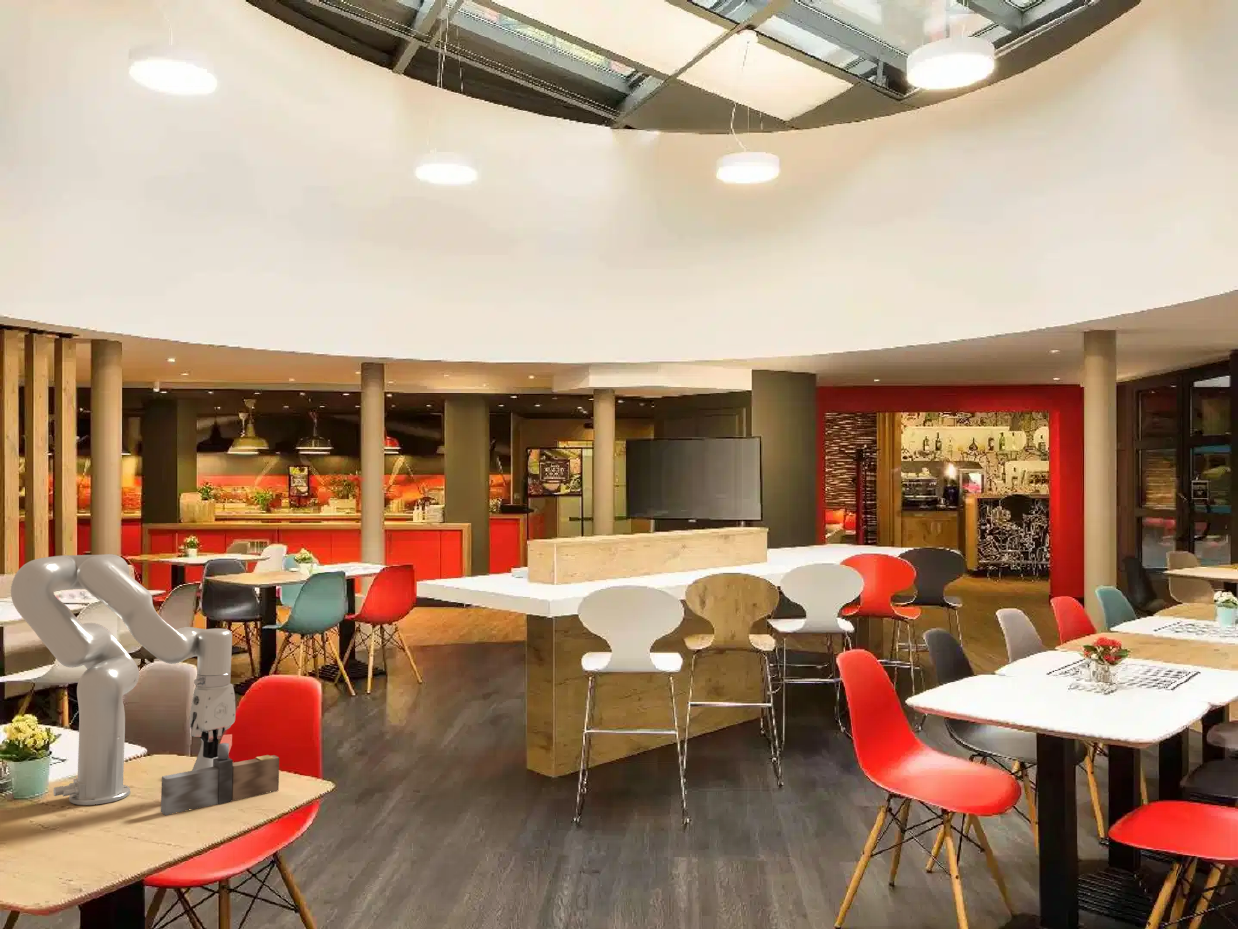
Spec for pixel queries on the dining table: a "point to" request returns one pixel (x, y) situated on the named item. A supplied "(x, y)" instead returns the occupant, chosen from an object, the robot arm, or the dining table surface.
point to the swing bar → (224, 747)
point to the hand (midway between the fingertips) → (210, 757)
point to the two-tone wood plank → (219, 783)
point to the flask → (202, 760)
